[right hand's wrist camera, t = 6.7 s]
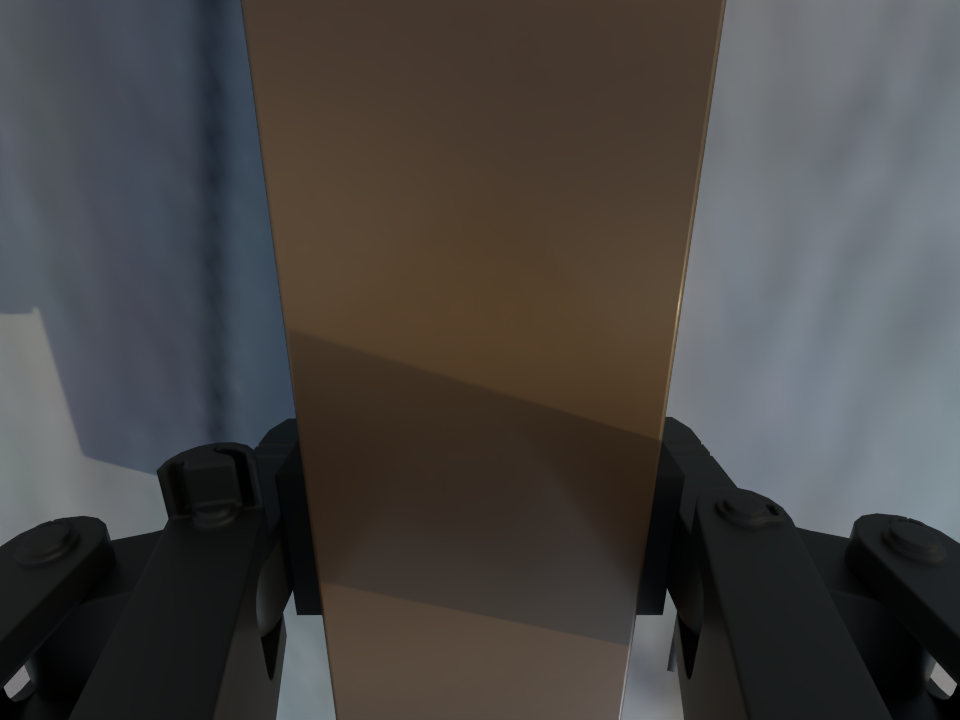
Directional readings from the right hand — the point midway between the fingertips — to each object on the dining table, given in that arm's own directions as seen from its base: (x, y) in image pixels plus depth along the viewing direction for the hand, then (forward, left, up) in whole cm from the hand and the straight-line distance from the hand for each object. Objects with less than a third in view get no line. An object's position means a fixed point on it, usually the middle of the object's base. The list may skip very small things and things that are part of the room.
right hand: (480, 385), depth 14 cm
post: (+8, +25, -1) cm, 26 cm away
